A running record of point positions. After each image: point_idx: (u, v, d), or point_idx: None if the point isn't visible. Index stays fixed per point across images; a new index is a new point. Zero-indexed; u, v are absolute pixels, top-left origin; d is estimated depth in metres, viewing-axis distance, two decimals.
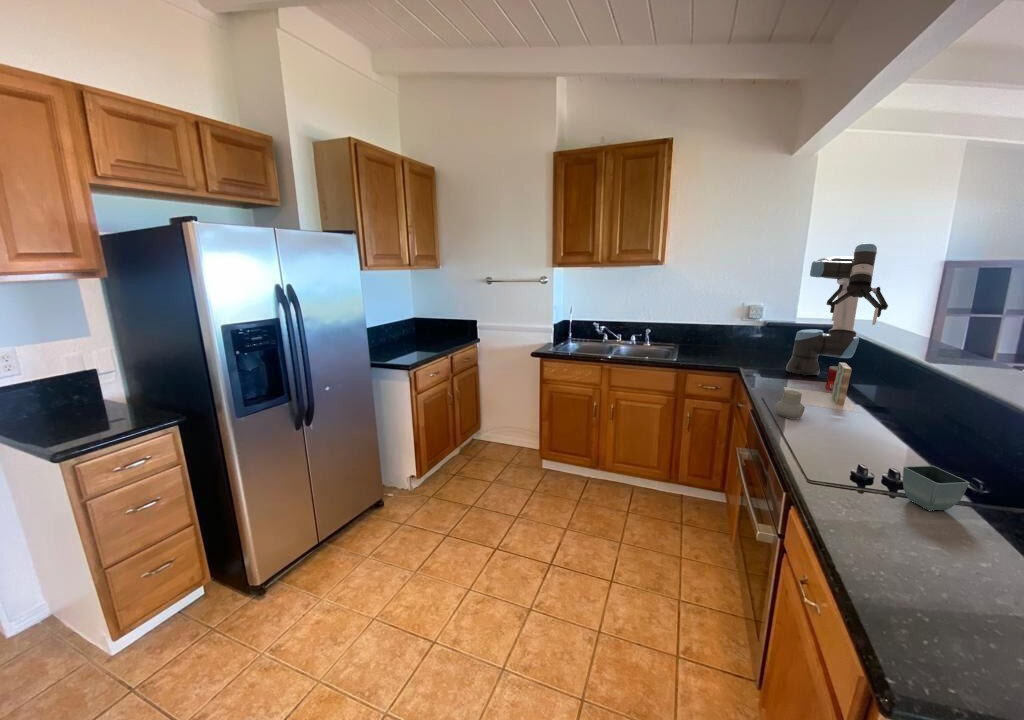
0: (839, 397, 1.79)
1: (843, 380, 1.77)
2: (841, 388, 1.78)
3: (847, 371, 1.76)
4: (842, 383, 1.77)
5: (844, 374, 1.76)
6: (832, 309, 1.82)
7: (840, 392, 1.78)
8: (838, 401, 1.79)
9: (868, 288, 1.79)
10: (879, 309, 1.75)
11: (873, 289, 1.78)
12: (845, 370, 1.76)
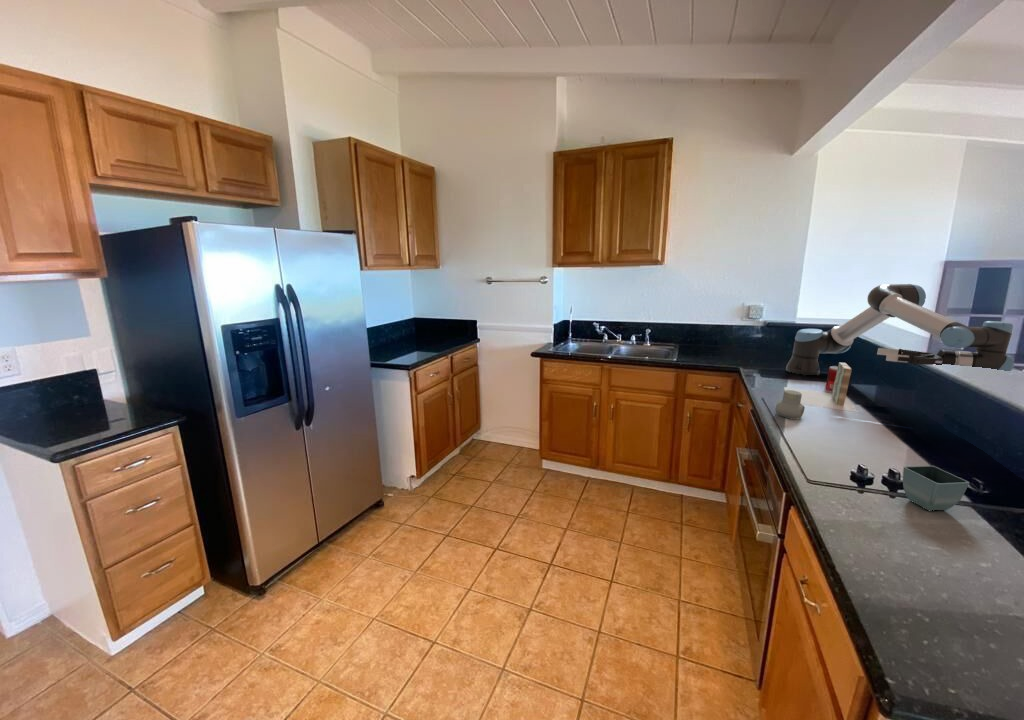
0: (839, 397, 1.79)
1: (843, 380, 1.77)
2: (841, 388, 1.78)
3: (847, 371, 1.76)
4: (842, 383, 1.77)
5: (844, 374, 1.76)
6: None
7: (840, 392, 1.78)
8: (838, 401, 1.79)
9: None
10: (895, 354, 1.78)
11: None
12: (845, 370, 1.76)
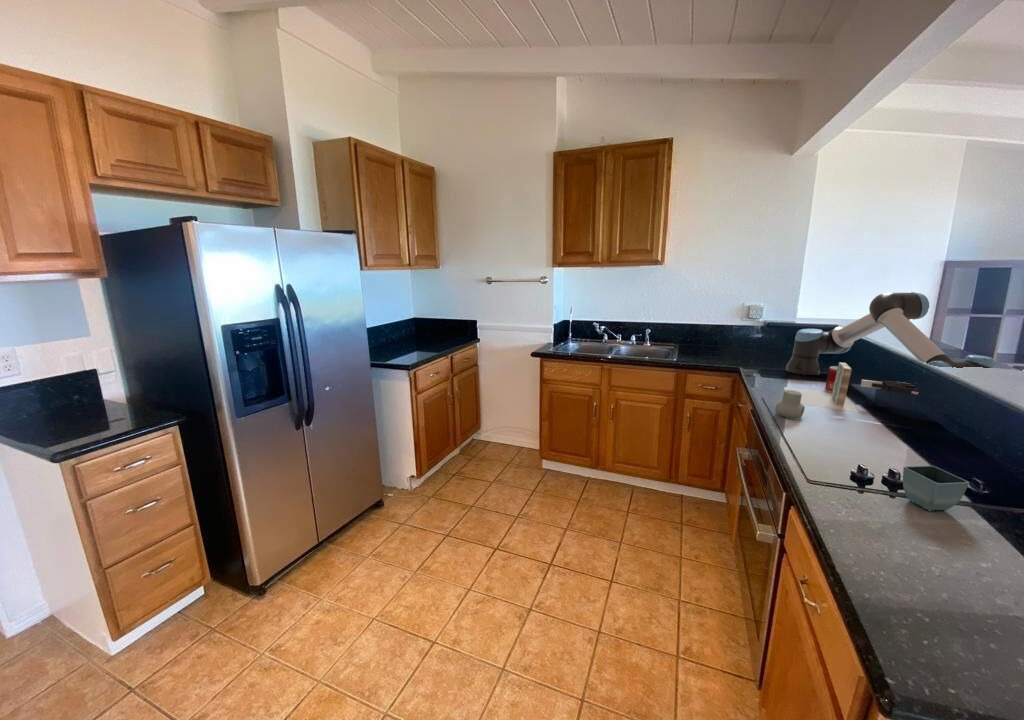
0: (839, 397, 1.79)
1: (843, 380, 1.77)
2: (841, 388, 1.78)
3: (847, 371, 1.76)
4: (842, 383, 1.77)
5: (844, 374, 1.76)
6: None
7: (840, 392, 1.78)
8: (838, 401, 1.79)
9: None
10: None
11: None
12: (845, 370, 1.76)
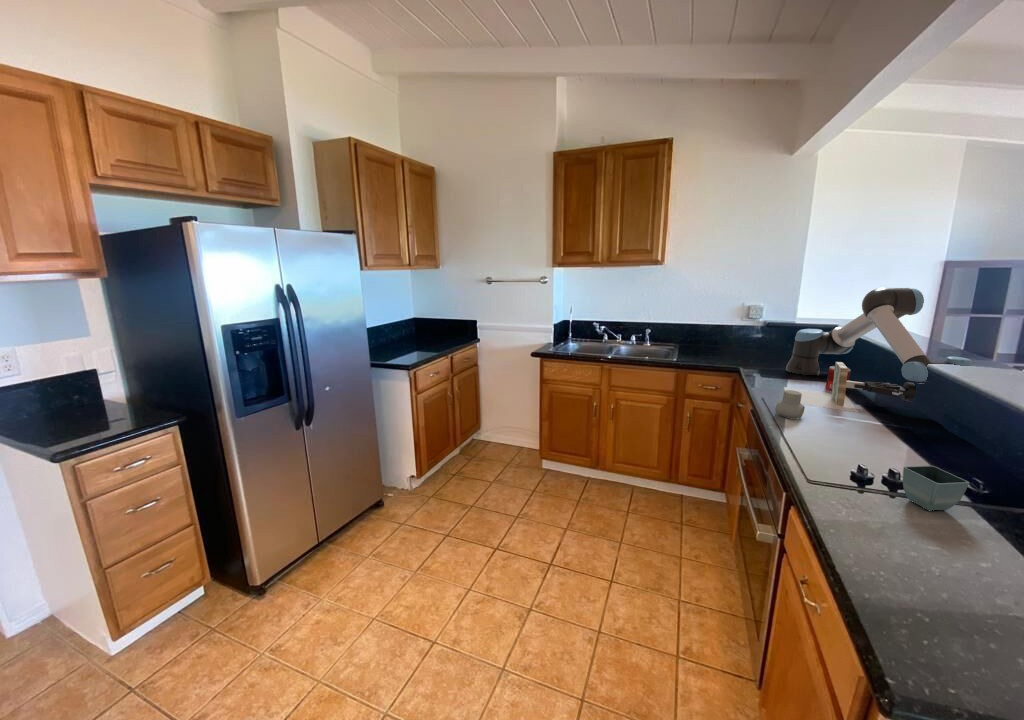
0: (838, 397, 1.79)
1: (841, 380, 1.77)
2: (839, 388, 1.78)
3: (844, 371, 1.76)
4: (840, 383, 1.78)
5: (841, 374, 1.77)
6: None
7: (839, 392, 1.79)
8: (838, 401, 1.79)
9: None
10: None
11: None
12: (842, 370, 1.77)
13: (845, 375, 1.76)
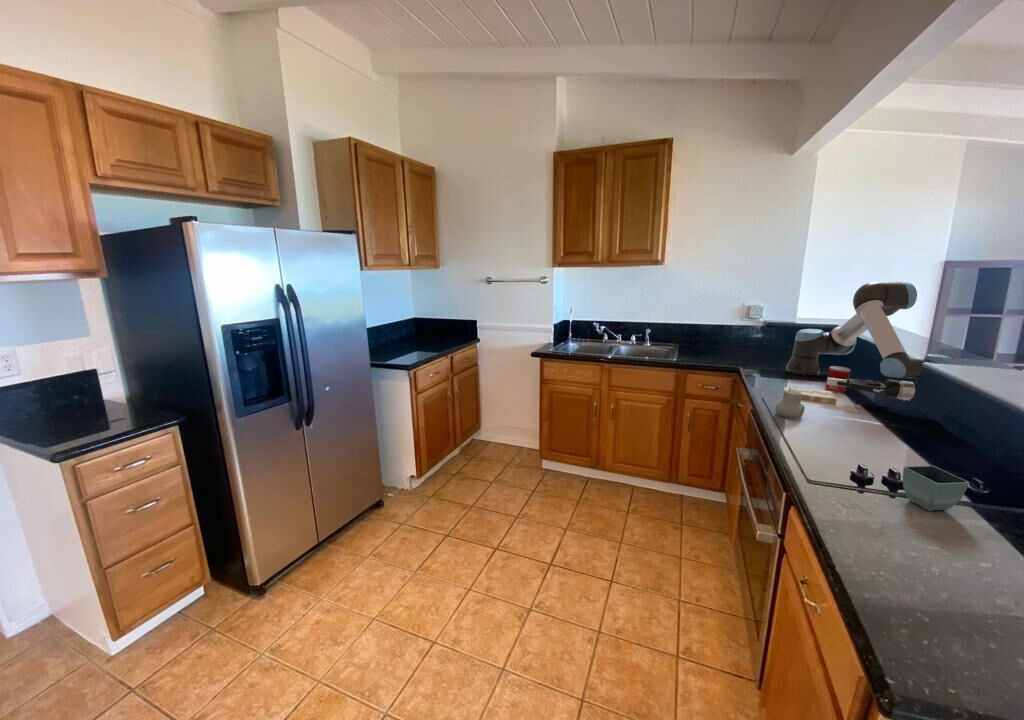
0: (826, 402, 1.82)
1: (805, 399, 1.85)
2: (814, 400, 1.83)
3: None
4: (808, 400, 1.84)
5: None
6: None
7: (819, 401, 1.83)
8: (831, 403, 1.81)
9: None
10: None
11: None
12: None
13: None
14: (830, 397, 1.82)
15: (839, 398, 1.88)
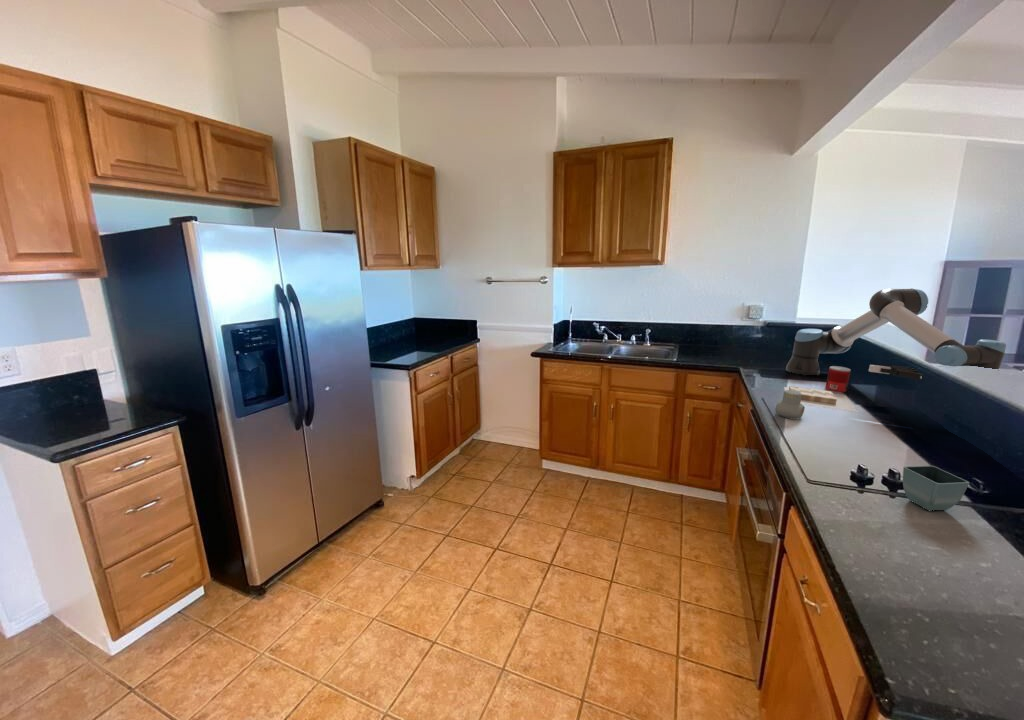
0: (826, 402, 1.82)
1: (805, 399, 1.85)
2: (814, 400, 1.83)
3: None
4: (808, 400, 1.84)
5: None
6: None
7: (819, 401, 1.83)
8: (831, 403, 1.81)
9: None
10: None
11: None
12: None
13: None
14: (830, 397, 1.82)
15: (839, 398, 1.88)
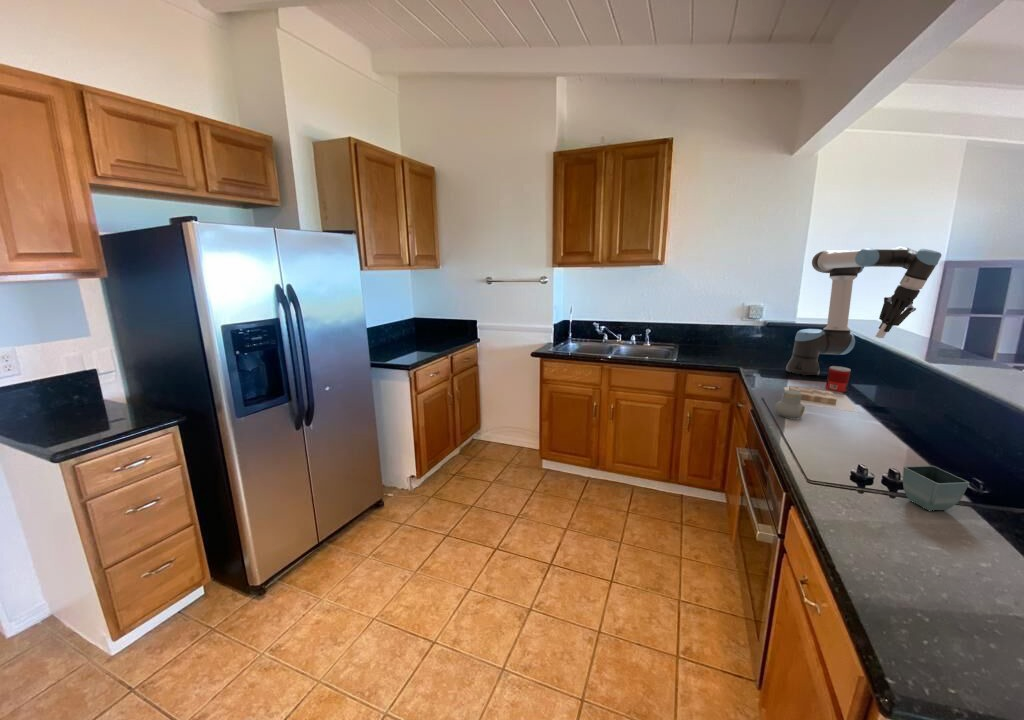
0: (826, 402, 1.82)
1: (805, 399, 1.85)
2: (814, 400, 1.83)
3: None
4: (808, 400, 1.84)
5: None
6: (880, 327, 1.89)
7: (819, 401, 1.83)
8: (831, 403, 1.81)
9: (906, 302, 1.79)
10: (888, 325, 1.86)
11: (909, 306, 1.78)
12: None
13: None
14: (830, 397, 1.82)
15: (839, 398, 1.88)
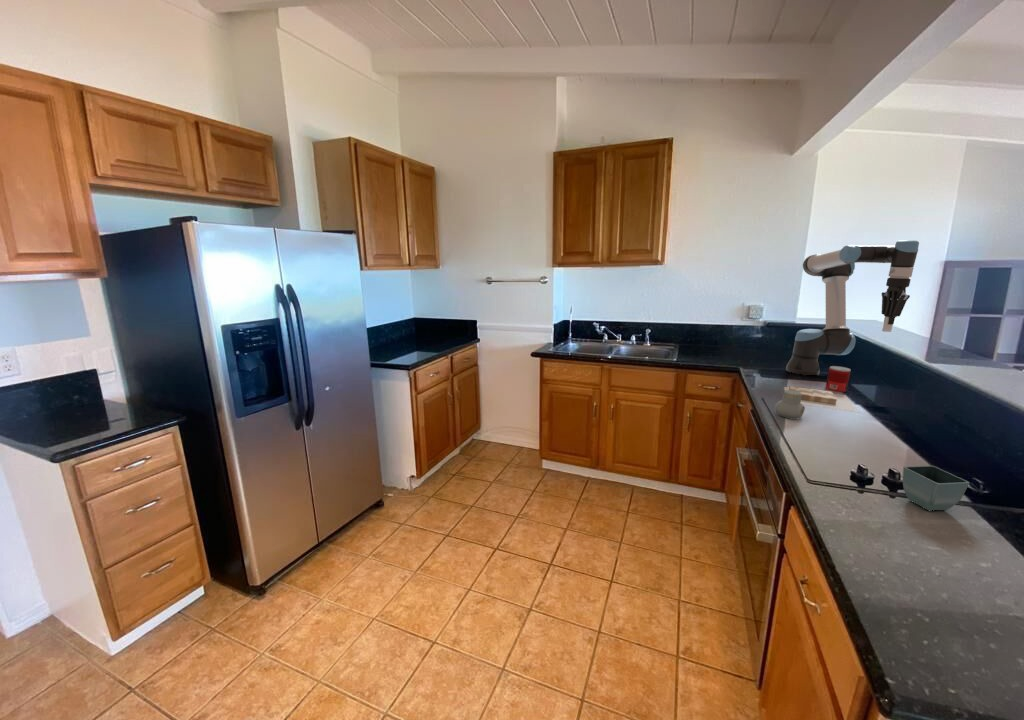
0: (826, 402, 1.82)
1: (805, 399, 1.85)
2: (814, 400, 1.83)
3: None
4: (808, 400, 1.84)
5: None
6: None
7: (819, 401, 1.83)
8: (831, 403, 1.81)
9: (898, 291, 1.83)
10: (890, 318, 1.87)
11: (902, 294, 1.81)
12: None
13: None
14: (830, 397, 1.82)
15: (839, 398, 1.88)
